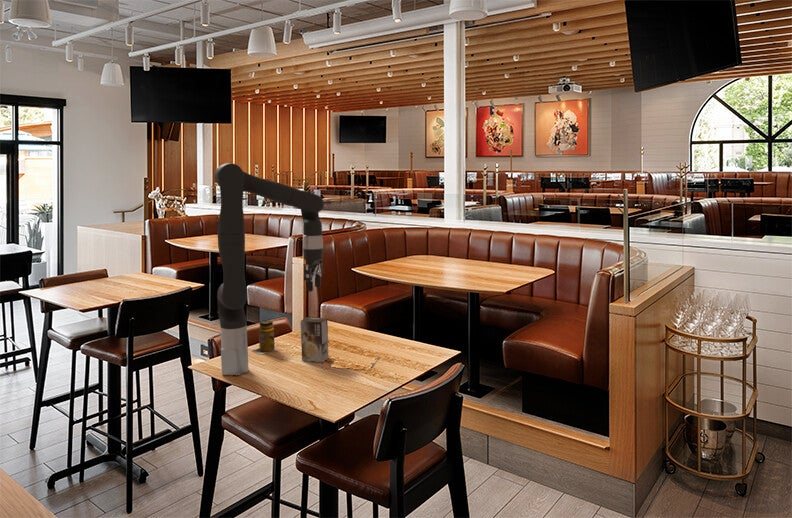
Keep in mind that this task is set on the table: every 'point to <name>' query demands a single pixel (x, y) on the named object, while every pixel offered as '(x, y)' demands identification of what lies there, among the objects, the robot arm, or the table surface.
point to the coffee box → (314, 339)
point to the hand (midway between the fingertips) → (313, 289)
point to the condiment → (266, 338)
